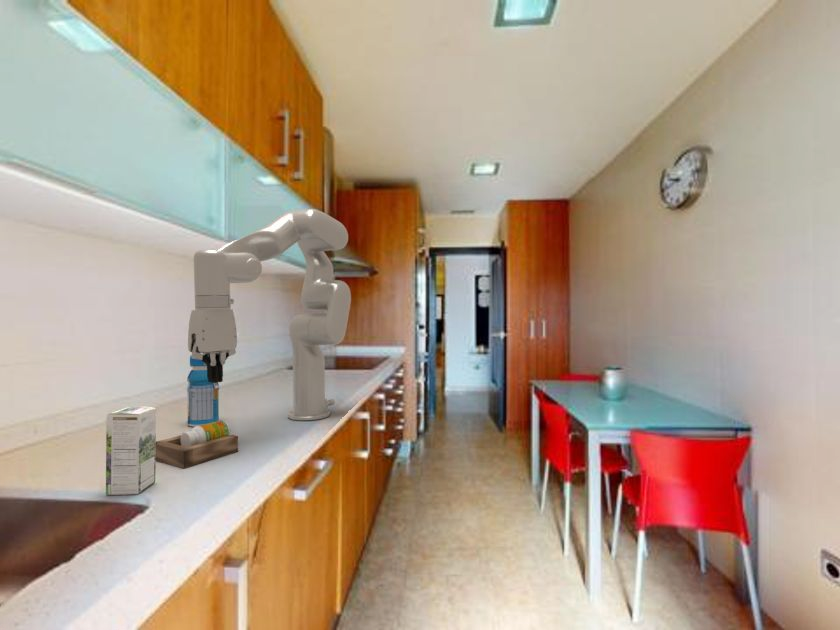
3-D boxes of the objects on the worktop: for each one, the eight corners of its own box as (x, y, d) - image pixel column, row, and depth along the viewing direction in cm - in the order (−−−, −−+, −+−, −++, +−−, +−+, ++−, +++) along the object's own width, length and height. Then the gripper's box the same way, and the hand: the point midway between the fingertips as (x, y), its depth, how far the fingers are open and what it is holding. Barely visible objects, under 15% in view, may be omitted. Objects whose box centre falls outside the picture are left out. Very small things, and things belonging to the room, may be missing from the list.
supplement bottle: (234, 435, 106) (195, 446, 97) (222, 446, 108) (184, 458, 100) (225, 415, 107) (186, 424, 99) (214, 427, 110) (175, 436, 101)
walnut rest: (205, 444, 109) (205, 429, 109) (238, 451, 103) (238, 435, 103) (151, 459, 98) (151, 442, 98) (183, 468, 92) (183, 451, 92)
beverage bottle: (196, 429, 123) (195, 356, 123) (181, 424, 128) (180, 355, 128) (225, 423, 130) (224, 354, 130) (210, 419, 135) (209, 353, 135)
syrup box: (124, 483, 84) (124, 406, 84) (157, 482, 84) (156, 405, 84) (105, 496, 78) (104, 413, 78) (140, 494, 79) (139, 412, 79)
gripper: (230, 303, 113) (232, 376, 113) (172, 304, 100) (174, 386, 100) (250, 303, 109) (252, 378, 109) (192, 304, 96) (195, 389, 96)
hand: (215, 381), depth 105 cm, fingers closed
